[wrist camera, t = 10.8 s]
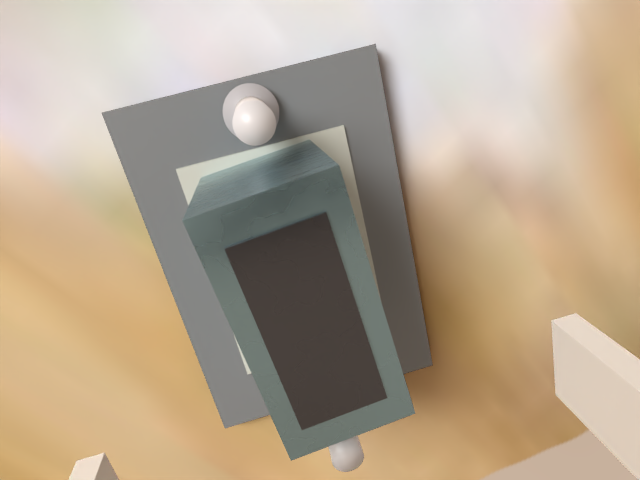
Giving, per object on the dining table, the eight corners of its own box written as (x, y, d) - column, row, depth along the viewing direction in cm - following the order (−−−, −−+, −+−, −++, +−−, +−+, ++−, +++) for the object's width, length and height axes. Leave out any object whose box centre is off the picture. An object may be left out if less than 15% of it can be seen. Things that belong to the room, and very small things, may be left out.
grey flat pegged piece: (369, 45, 25) (426, 29, 17) (425, 355, 32) (484, 442, 24) (108, 111, 24) (44, 125, 16) (225, 415, 31) (220, 527, 23)
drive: (309, 139, 24) (339, 165, 17) (370, 326, 29) (416, 415, 21) (200, 177, 24) (181, 221, 17) (278, 360, 28) (291, 463, 21)
